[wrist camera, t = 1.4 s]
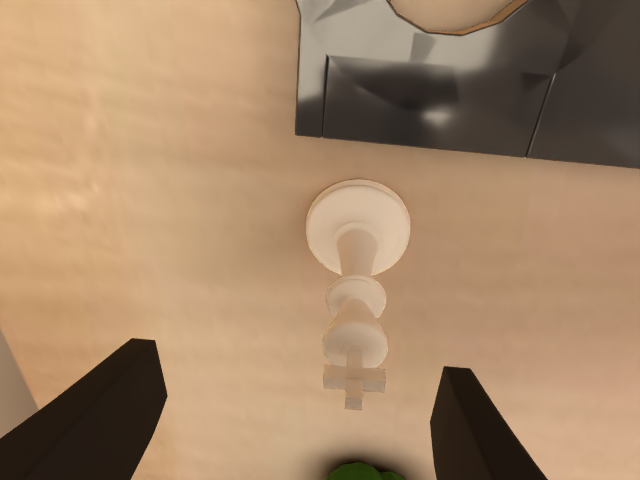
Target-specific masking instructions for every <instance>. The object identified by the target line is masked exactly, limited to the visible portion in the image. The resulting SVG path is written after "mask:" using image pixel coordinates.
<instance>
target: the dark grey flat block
mask: <svg viewBox="0 0 640 480" xmlns="http://www.w3.org/2000/svg"><path fill="white" fill-rule="evenodd" d="M295 1H296V4H297V7H298V10H299V14H300V22H299V46H298V70H297V94H296V117H295V135H297V136H306V137H316V138H321V137H322V138H327V139H337V140H348V141H358V142H368V143H378V144H389V145H399V146H409V147H420V148H430V149H440V150H451V151H461V152H471V153H481V154H492V155H502V156H512V157H526V158H533V159H543V160H553V161H564V162H574V163H584V164H595V165H605V166H615V167H626V168H636V169H640V0H514V1H513V2H512V3H510V4H509V5H508V6H507V7H505V8H504V9H503V10H502V11H500V12H499V13H498V14H497V15H496V16H494V17H493V18H492V19H491V20H489V21H487V22H484V23H481V24H478V25H475V26H472V27H470V28H467V29H464V30H461V31H458V32H443V31H431V30H425V29H423V28H421V27H420V26H418V25H416V24H415V23H413V22H411V21H410V20H408V19H406V18H405V17H403V16H401V15H400V14H398V13H397V12H396V10H395V9H394V7H393V6H392V4H391V3H390V2H389V0H295Z"/></svg>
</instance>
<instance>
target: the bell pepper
mask: <svg viewBox="0 0 640 480" xmlns="http://www.w3.org/2000/svg"><path fill="white" fill-rule="evenodd" d="M325 480H406V479H405V478H404V477H403V476H400V475H398V474H396V473H393V472H391V471H389V472H383V473H379V472H378V471H377V470H376V469H375V468H374V467H373V466H370V465H367V464H364V463H361V462H357V463H351V464H344V465H340V466H339V467H338V468H336V469H335V470H334V471H332V472H331V473H330V474H329V475H328V476H327V478H326V479H325Z"/></svg>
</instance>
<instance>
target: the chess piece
mask: <svg viewBox="0 0 640 480" xmlns="http://www.w3.org/2000/svg"><path fill="white" fill-rule="evenodd" d="M410 227H411V225H410V217H409V213H408V210H407V208H406V206H405V204H404V203H403V201H402V200H401V198H400V197H399V196H398V195H397V194H396V193H395V192H393V191H392V190H391V189H389V188H388V187H386V186H384V185H382V184H380V183H377V182H374V181H370V180H363V179H353V180H346V181H342V182H339V183H336V184H334V185H332V186H330V187H328V188H327V189H325V190H324V191H323V192H322V193H320V194H319V195H318V196H317V198H316V199H315V200H314V202H313V203H312V205H311V207H310V209H309V211H308V214H307V218H306V237H307V242H308V245H309V247H310V250H311V252H312V253H313V255H314V256H315V258H316V259H317V260H318V261H319V262H320V263H321V264H322V265H323V266H325V267H326V268H328V269H329V270H331V271H333V272H335V273H338V274H340V275H342V277H340V278H338V279H337V280H335V281H334V282H333V283H332V284H331V285H330V287H329V288H328V291H327V294H326V302H327V305H328V308H329V310H330V312H331V314H332V315H333V316H334V317H335V320H334V321H333V322H332V323H331V325H330V326H329V328H328V329H327V331H326V333H325V335H324V338H323V342H322V348H323V352H324V355H325V356H326V358H327V359H328V361H329V362H330V363H332V364H333V365H334V366H328V365H325V368H324V377H323V387H324V388H327V389H342V390H346V399H345V409H353V410H362V391H370V392H385V382H386V380H385V369H375V367H377V366H378V365H380V364H381V363H382V362H383V361H384V359H385V358H386V355H387V353H388V341H387V338H386V336H385V334H384V332H383V330H382V328H381V326H380V325H379V324H378V322H377V321H376V319H377V318H378V317H379V316H380V315H381V314H382V312H383V310H384V307H385V305H386V293H385V291H384V289H383V287H382V286H381V285H380V284H379V283H378V282H377V281H376V280H374V279H373V278H371V276H372V275H376V274H379V273H381V272H383V271H385V270H387V269H389V268H390V267H392V266H393V265H394V264H395V263H396V262H397V261H398V260H399V259H400V258H401V257H402V255H403V254H404V252H405V250H406V248H407V245H408V242H409V238H410Z"/></svg>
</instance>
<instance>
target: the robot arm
mask: <svg viewBox="0 0 640 480" xmlns="http://www.w3.org/2000/svg"><path fill="white" fill-rule="evenodd" d="M167 396H168V395H167V391H166V387H165V382H164V378H163V373H162V369H161V364H160V360H159V355H158V351H157V347H156V342H155V340H146V339H135V338H132V339H130V340H129V341H128V342H126V343H125V344H124V345H123V346H121V347H120V348H119V349H117V350H116V351H115V352H114V353H112V354H111V355H110V356H109V357H107V358H106V359H105V360H104V361H102V362H101V363H100V364H99V365H97V366H96V367H95V368H94V369H92V370H91V371H90V372H89V373H87V374H86V375H85V376H84V377H82V378H81V379H80V380H78V381H77V382H76V383H75V384H73V385H72V386H71V387H69V388H68V389H67V390H66V391H64V392H63V393H62V394H60V395H59V396H58V397H57V398H55V399H54V400H53V401H51V402H50V403H49V404H47V405H46V406H45V407H43V408H42V409H41V410H39V411H38V412H36V413H35V414H34V415H32V416H31V417H29V418H28V419H27V420H25V421H24V422H23V423H21V424H20V425H18V426H17V427H16V428H14V429H13V430H12V431H10V432H9V433H7V434H6V435H5V436H3V437H2V438H1V439H0V480H130V479H131V478H132V476H133V474H134V472H135V470H136V468H137V466H138V464H139V462H140V460H141V458H142V456H143V454H144V452H145V450H146V448H147V446H148V444H149V442H150V440H151V438H152V436H153V434H154V431H155V429H156V426H157V423H158V421H159V418H160V416H161V413H162V410H163V407H164V405H165V402H166V399H167ZM430 426H431V438H432V449H433V458H434V467H435V472H436V477H437V480H548V479H547V478H546V477H545V475H544V474H543V473H542V471H541V470H540V469H539V467H538V466H537V465H536V464H535V462H534V461H533V459H532V458H531V457H530V455H529V454H528V453H527V451H526V450H525V448H524V447H523V446H522V444H521V443H520V441H519V440H518V439H517V437H516V436H515V435H514V433H513V432H512V430H511V429H510V427H509V426H508V425H507V423H506V422H505V420H504V419H503V417H502V416H501V414H500V413H499V411H498V410H497V408H496V407H495V405H494V404H493V402H492V401H491V399H490V398H489V396H488V395H487V393H486V392H485V390H484V389H483V387H482V385H481V384H480V382H479V381H478V379H477V378H476V376H475V374H474V373H473V372H472V371H471V369H469V368H458V367H447V366H444V368H443V372H442V376H441V380H440V384H439V388H438V392H437V396H436V400H435V404H434V408H433V412H432V416H431V420H430Z"/></svg>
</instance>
